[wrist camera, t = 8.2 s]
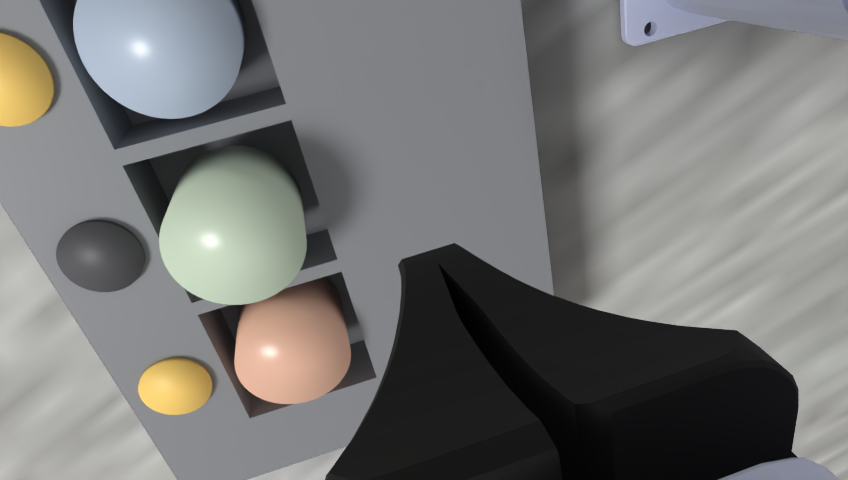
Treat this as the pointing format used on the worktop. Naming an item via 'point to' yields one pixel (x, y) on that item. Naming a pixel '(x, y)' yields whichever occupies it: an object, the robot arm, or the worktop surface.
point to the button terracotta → (293, 343)
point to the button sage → (234, 226)
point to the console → (319, 184)
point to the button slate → (162, 52)
